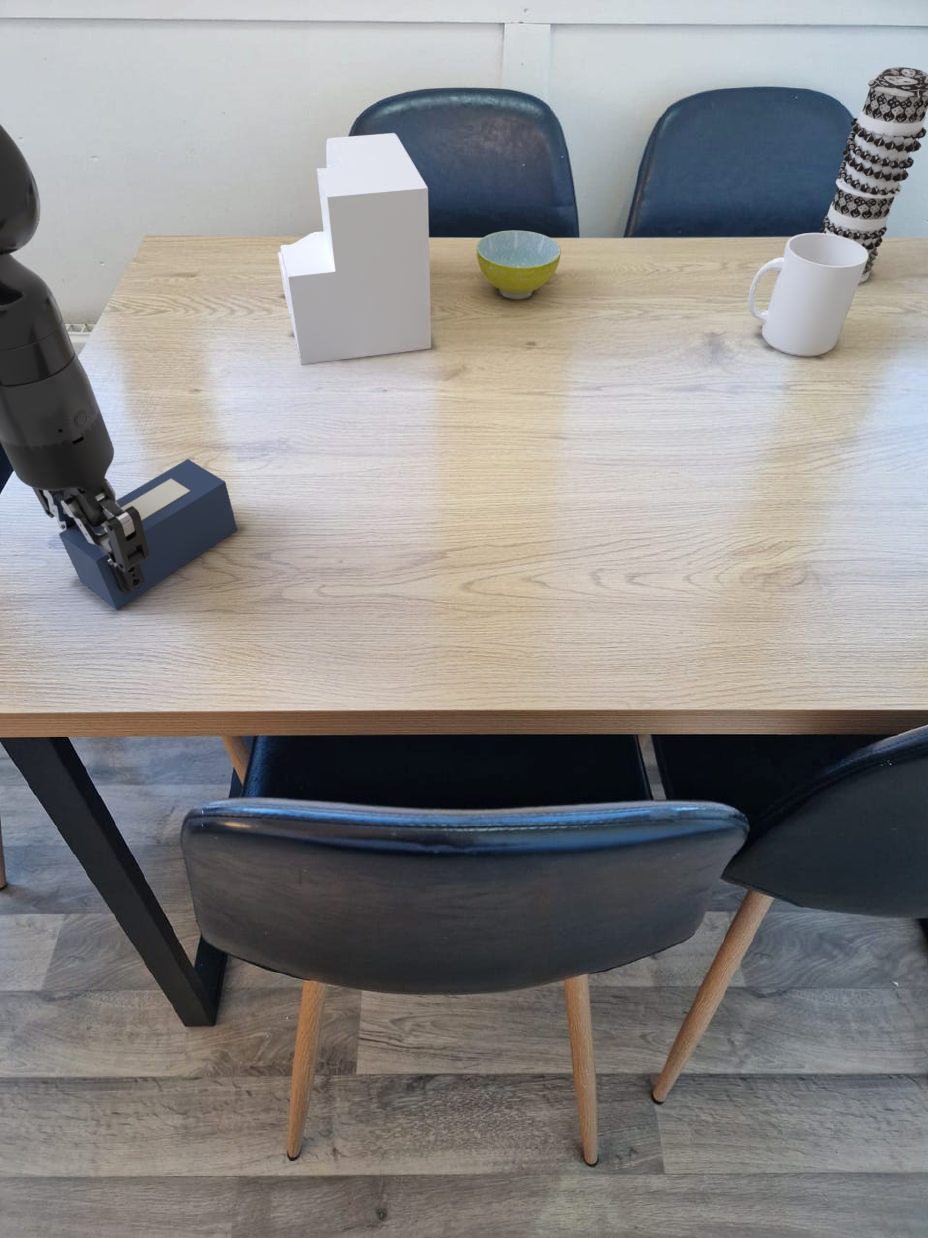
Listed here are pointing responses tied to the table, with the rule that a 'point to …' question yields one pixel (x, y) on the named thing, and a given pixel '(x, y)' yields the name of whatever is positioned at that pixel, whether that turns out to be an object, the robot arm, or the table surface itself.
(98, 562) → the rectangular box
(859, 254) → the mug
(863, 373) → the table surface
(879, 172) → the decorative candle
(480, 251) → the bowl
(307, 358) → the block
